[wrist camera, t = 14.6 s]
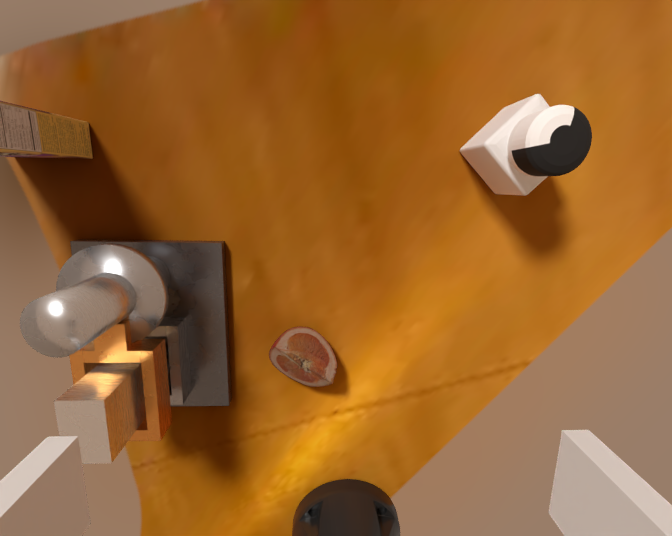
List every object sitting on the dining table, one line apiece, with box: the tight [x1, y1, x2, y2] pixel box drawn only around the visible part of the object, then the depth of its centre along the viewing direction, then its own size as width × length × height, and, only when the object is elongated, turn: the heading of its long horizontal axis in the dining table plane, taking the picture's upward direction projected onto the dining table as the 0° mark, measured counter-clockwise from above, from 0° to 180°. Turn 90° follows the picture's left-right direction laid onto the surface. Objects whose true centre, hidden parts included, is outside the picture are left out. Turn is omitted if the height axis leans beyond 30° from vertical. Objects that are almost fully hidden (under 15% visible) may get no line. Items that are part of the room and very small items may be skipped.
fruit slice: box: [269, 327, 337, 387], centre depth 47 cm, size 8×7×5 cm
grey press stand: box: [20, 239, 232, 441], centre depth 38 cm, size 22×17×18 cm
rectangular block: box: [54, 338, 170, 464], centre depth 39 cm, size 6×4×15 cm, turn 179°
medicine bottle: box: [460, 94, 592, 196], centre depth 39 cm, size 7×7×12 cm
